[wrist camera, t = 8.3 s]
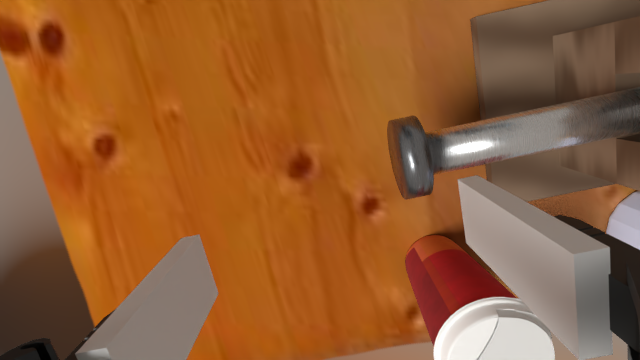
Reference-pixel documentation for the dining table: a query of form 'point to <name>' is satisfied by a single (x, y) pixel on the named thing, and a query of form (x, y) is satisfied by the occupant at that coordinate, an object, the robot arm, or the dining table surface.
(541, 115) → the shaft
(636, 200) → the soap bottle
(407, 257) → the coffee cup
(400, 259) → the dining table surface
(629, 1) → the block
